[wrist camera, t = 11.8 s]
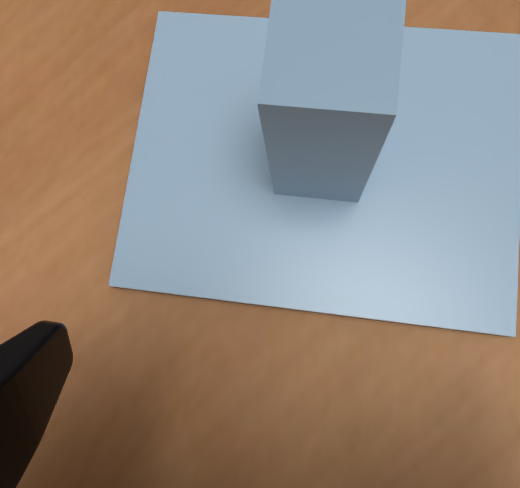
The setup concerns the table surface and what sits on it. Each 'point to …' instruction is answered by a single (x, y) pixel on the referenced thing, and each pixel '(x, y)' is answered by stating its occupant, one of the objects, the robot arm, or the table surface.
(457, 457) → the table surface
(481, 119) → the tub lid
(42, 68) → the table surface
